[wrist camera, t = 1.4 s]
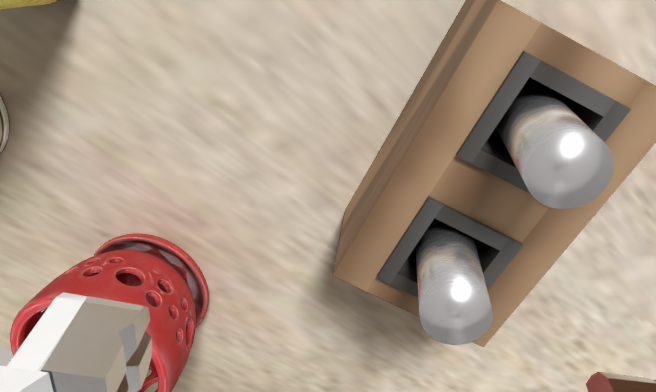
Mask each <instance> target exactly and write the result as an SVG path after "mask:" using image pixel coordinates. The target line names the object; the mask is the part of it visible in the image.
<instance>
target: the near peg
mask: <svg viewBox="0 0 656 392" xmlns="http://www.w3.org/2000/svg"><path fill="white" fill-rule="evenodd" d="M496 129H497V131H498V133H499V135H500V137H501V139H502V141H503V143H504V145H505V146H506V148H507V150H508V152H509V154H510V156H511V158H512V160H513V162H514V164H515V165H516V167H517V169H518V171H519V173H520V175H521V177H522V179H523V181H524V182H525V184H526V186H527V188H528V190H529V192H530V193H531V195H532V196H533V197H534V198H535V199H536V200H537V201H538V202H540V203H542V204H543V205H546V206H548V207H551V208H556V209H571V208H576V207H580V206H583V205H585V204H587V203H589V202H591V201H593V200H594V199H595V198H597V197H598V196H599V195H600V194H601V193H602V192H603V191H604V190H605V189H606V187H607V186H608V184H609V182H610V181H611V178H612V175H613V171H614V159H613V155H612V153H611V150H610V149H609V147H608V146H607V145H606V143H605V142H604V141H603V140H602V139H601V138H599V137H598V136H597V135H596V134H595V133H594V132H593V131H592V130H591V129H590V128H589V127H588V126H587V125H586V124H585V123H584V122H583V121H582V120H581V119H580V118H579V117H578V116H577V115H576V114H575V113H574V112H573V111H572V110H571V109H569V108H568V107H567V106H566V105H565V104H564V103H563V102H562V101H561V100H560V99H559V98H558V97H557V96H556V95H555V94H554V93H553V92H552V91H551V90H550V89H549V88H548V87H546V86H545V85H543V84H541V83H538V82H533V81H527V82H526V83H525V85H524V86H523V88H522V89H521V91H520V92H519V94H518V95H517V96H516V98H515V99H514V101H513V102H512V104H511V105H510V107H509V108H508V110H507V111H506V113H505V114H504V116H503V117H502V119H501V120H500V122H499V123H498V125H497V126H496Z"/></svg>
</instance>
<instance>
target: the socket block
mask: <svg viewBox="0 0 656 392" xmlns="http://www.w3.org/2000/svg"><path fill="white" fill-rule="evenodd" d="M529 77H531V78H532V79H534V80H536V81H538V82H540V83H542V84H544V85H545V86H546V87H548V88H549V89H550V90H551V91H552V92H553V93H554V94H555V95H556V96H557V97H558V98H559V99H560V100H561V101H562V102H563V103H564V104H565V105H566V106H567V107H568V108H569V109H571V110H572V111H573V112H574V113H575V114H576V115H577V116H578V117H579V118H580V119H581V120H582V121H583V122H584V123H585V124H586V125H587V126H588V127H589V128H590V129H591V130H592V131H593V132H594V133H595V134H596V135H597V136H598V137H599V138H601V139H602V140H603V141H604V142H605V143H606V145H607V146H608V147H609V149H610V150H611V153H612V155H613V159H614V171H613V175H612V178H611V181H610V182H609V184H608V186H607V187H606V189H605V190H604V191H603V192H602V193H601V194H600V195H599V196H598V197H597V198H595V199H594V200H593V201H591V202H589V203H587V204H585V205H583V206H580V207H576V208H571V209H556V208H551V207H548V206H546V205H543V204H542V203H540V202H538V201H537V200H536V199H535V198H534V197H533V196H532V195H531V193H530V192H529V190H528V188H527V186H526V184H525V182H524V181H523V179H522V177H521V175H520V173H519V171H518V169H517V167H516V165H515V164H514V162H513V160H512V158H511V156H510V154H509V152H508V150H507V148H506V146H505V145H504V143H503V141H502V139H501V137H500V135H499V133H498V131H497V129H496V126H497V125H498V123H499V122H500V120H501V119H502V117H503V116H504V114H505V113H506V111H507V110H508V108H509V107H510V105H511V104H512V102H513V101H514V99H515V98H516V96H517V95H518V94H519V92H520V91H521V89H522V88H523V86H524V85H525V83H526V82H527V80H528V79H529ZM655 143H656V86H655V85H653V84H652V83H650V82H648V81H646V80H644V79H643V78H641V77H639V76H637V75H635V74H634V73H632V72H630V71H628V70H626V69H625V68H623V67H621V66H619V65H617V64H616V63H614V62H612V61H610V60H608V59H606V58H605V57H603V56H601V55H599V54H597V53H596V52H594V51H592V50H590V49H588V48H586V47H585V46H583V45H581V44H579V43H577V42H575V41H574V40H572V39H570V38H568V37H566V36H565V35H563V34H561V33H559V32H557V31H555V30H554V29H552V28H550V27H548V26H546V25H544V24H543V23H541V22H539V21H537V20H535V19H534V18H532V17H530V16H528V15H526V14H524V13H523V12H521V11H519V10H517V9H515V8H513V7H512V6H510V5H508V4H506V3H504V2H503V1H501V0H466V1H465V3H464V5H463V6H462V8H461V10H460V12H459V13H458V15H457V17H456V19H455V20H454V22H453V24H452V26H451V27H450V29H449V31H448V32H447V34H446V36H445V38H444V39H443V41H442V43H441V45H440V46H439V48H438V50H437V52H436V53H435V55H434V57H433V59H432V60H431V62H430V64H429V66H428V67H427V69H426V71H425V72H424V74H423V76H422V78H421V79H420V81H419V83H418V85H417V86H416V88H415V90H414V92H413V93H412V95H411V97H410V99H409V100H408V102H407V104H406V106H405V107H404V109H403V111H402V112H401V114H400V116H399V118H398V119H397V121H396V123H395V125H394V126H393V128H392V130H391V132H390V133H389V135H388V137H387V139H386V140H385V142H384V144H383V146H382V147H381V149H380V151H379V152H378V154H377V156H376V158H375V159H374V161H373V163H372V165H371V166H370V168H369V170H368V172H367V173H366V175H365V177H364V179H363V180H362V182H361V184H360V185H359V187H358V189H357V191H356V192H355V194H354V196H353V198H352V199H351V201H350V203H349V205H348V206H347V208H346V210H345V215H344V220H343V225H342V230H341V235H340V240H339V245H338V250H337V256H336V261H335V266H334V271H333V276H335V277H337V278H339V279H341V280H343V281H345V282H347V283H349V284H352V285H354V286H356V287H358V288H360V289H362V290H364V291H366V292H368V293H370V294H373V295H375V296H377V297H379V298H381V299H383V300H385V301H387V302H389V303H391V304H393V305H396V306H398V307H400V308H402V309H404V310H406V311H408V312H410V313H412V314H414V315H417V316H419V317H420V315H419V298H418V281H417V263H416V245H417V243H418V242H419V240H420V239H421V237H422V236H423V234H424V233H425V231H426V230H427V228H428V227H429V225H430V224H431V223H432V221H433V220H434V218H435V219H437V220H439V221H441V222H443V223H445V224H447V225H449V226H451V227H453V228H455V229H457V230H459V231H461V232H463V233H465V234H467V235H469V236H471V237H473V238H474V241H475V245H476V249H477V252H478V256H479V260H480V264H481V268H482V272H483V276H484V280H485V284H486V287H487V291H488V295H489V299H490V303H491V307H492V311H493V320H492V324H491V326H490V328H489V329H488V331H487V332H486V333H485V334H484V335H483V336H482V337H481V338H479V339H477V340H475V341H473V343H475V344H477V345H479V346H482V347H484V346H485V345H486V344H487V342H488V341H489V340H490V339H491V338H492V336H493V335H494V334H495V333H496V332H497V331H498V329H499V328H500V327H501V326H502V325H503V323H504V322H505V321H506V320H507V319H508V317H509V316H510V315H511V314H512V313H513V312H514V310H515V309H516V308H517V307H518V306H519V304H520V303H521V302H522V301H523V300H524V298H525V297H526V296H527V295H528V294H529V292H530V291H531V290H532V289H533V288H534V287H535V285H536V284H537V283H538V282H539V281H540V279H541V278H542V277H543V276H544V275H545V273H546V272H547V271H548V270H549V269H550V268H551V266H552V265H553V264H554V263H555V262H556V260H557V259H558V258H559V257H560V256H561V254H562V253H563V252H564V251H565V250H566V249H567V247H568V246H569V245H570V244H571V243H572V241H573V240H574V239H575V238H576V237H577V235H578V234H579V233H580V232H581V231H582V230H583V228H584V227H585V226H586V225H587V224H588V222H589V221H590V220H591V219H592V218H593V216H594V215H595V214H596V213H597V212H598V211H599V209H600V208H601V207H602V206H603V205H604V203H605V202H606V201H607V200H608V199H609V197H610V196H611V195H612V194H613V193H614V191H615V190H616V189H617V188H618V187H619V186H620V184H621V183H622V182H623V181H624V180H625V178H626V177H627V176H628V175H629V174H630V172H631V171H632V170H633V169H634V168H635V167H636V165H637V164H638V163H639V162H640V161H641V159H642V158H643V157H644V156H645V155H646V153H647V152H648V151H649V150H650V149H651V148H652V146H653V145H654V144H655Z"/></svg>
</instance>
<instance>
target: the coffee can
mask: <svg viewBox="0 0 656 392" xmlns="http://www.w3.org/2000/svg"><path fill="white" fill-rule="evenodd" d="M8 135H9V119H8V114H7V110H6V107H5V105H4V103H3V100H2V98H1V96H0V153H1V152H2V150H3V149H4V147H5V145H6V143H7V140H8Z"/></svg>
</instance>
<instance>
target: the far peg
mask: <svg viewBox="0 0 656 392" xmlns="http://www.w3.org/2000/svg"><path fill="white" fill-rule="evenodd" d="M416 263H417V281H418V298H419V315H420V322H421V325H422V327H423V329H424V331H425V332H426V333H427V334H428V335H429V336H430V337H432V338H433V339H435V340H437V341H439V342H441V343H445V344H450V345H462V344H467V343H470V342H473V341H475V340H477V339H479V338H481V337H482V336H483V335H484V334H485V333H486V332H487V331H488V329H489V328H490V326H491V324H492V320H493V311H492V307H491V303H490V299H489V295H488V291H487V287H486V284H485V280H484V276H483V272H482V268H481V264H480V260H479V256H478V252H477V249H476V245H475V241H474V238H473V237H471V236H469V235H467V234H465V233H463V232H461V231H459V230H457V229H455V228H453V227H451V226H449V225H447V224H445V223H443V222H441V221H439V220H437V219H435V218H434V220H433V221H432V223H431V224H430V225H429V227H428V228H427V230H426V231H425V233H424V234H423V236H422V237H421V239H420V240H419V242H418V243H417V245H416Z"/></svg>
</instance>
